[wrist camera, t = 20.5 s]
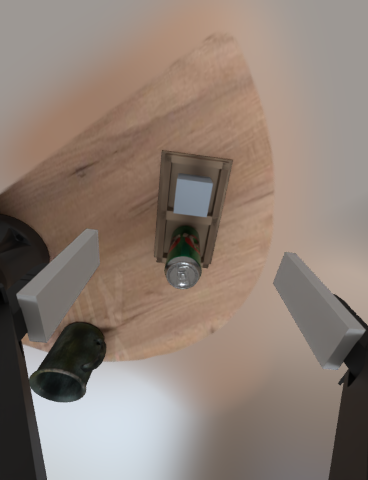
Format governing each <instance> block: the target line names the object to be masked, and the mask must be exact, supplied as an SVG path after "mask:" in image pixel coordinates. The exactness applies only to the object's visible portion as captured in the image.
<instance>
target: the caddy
mask: <svg viewBox="0 0 368 480" xmlns="http://www.w3.org/2000/svg"><path fill="white" fill-rule="evenodd" d="M232 162H233V160H229V159H222V158H215V157H208V156H200V155H193V154H186V153H179V152H171V151H164V150H162V155H161V168H160V182H159V196H158V209H157V223H156V237H155V251H154V257H157V262H161V263H166V259H167V255H168V250H169V246H170V241H171V236H172V233H173V232H174V230H175V229H177V228H178V227H181V226H190V227H192V228H194V229H195V230H196V231H197V232H198V234H199V238H200V254H201V267H202V268H208V265H209V264H211V260H212V255H213V251H214V246H215V241H216V237H217V232H218V227H219V223H220V218H221V214H222V209H223V204H224V200H225V195H226V190H227V186H228V181H229V176H230V172H231V167H232ZM179 173H183V174H190V175H198V176H205V177H210V178H211V180H212V183H213V186H212V192H211V197H210V202H209V208H208V213H207V217H200V216H192V215H184V214H177V213H173V212H174V203H175V194H176V185H177V178H178V174H179Z"/></svg>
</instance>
